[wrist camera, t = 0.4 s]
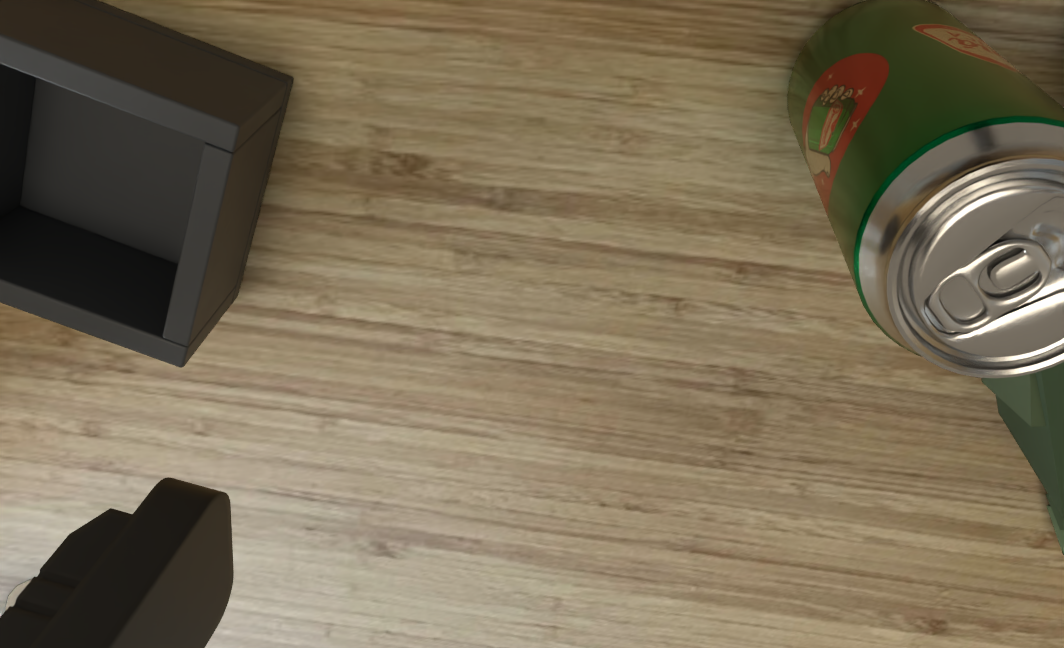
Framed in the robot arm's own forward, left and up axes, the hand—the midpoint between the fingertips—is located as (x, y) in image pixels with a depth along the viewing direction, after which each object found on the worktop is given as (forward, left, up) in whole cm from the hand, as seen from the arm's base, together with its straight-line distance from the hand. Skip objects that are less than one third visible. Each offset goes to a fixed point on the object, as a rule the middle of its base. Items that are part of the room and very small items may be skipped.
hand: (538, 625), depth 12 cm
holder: (+6, -16, -20) cm, 26 cm away
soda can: (-4, +7, -20) cm, 22 cm away
